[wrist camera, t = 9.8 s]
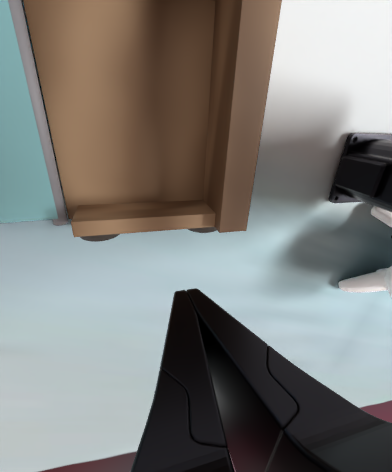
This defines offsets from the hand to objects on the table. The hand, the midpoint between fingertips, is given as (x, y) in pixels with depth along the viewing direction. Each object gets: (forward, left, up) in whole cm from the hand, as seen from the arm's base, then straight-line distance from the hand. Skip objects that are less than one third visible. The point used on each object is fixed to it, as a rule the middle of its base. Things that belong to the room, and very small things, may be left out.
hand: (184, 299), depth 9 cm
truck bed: (0, -6, -12) cm, 14 cm away
